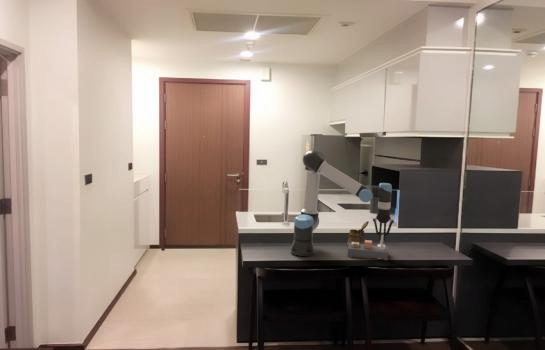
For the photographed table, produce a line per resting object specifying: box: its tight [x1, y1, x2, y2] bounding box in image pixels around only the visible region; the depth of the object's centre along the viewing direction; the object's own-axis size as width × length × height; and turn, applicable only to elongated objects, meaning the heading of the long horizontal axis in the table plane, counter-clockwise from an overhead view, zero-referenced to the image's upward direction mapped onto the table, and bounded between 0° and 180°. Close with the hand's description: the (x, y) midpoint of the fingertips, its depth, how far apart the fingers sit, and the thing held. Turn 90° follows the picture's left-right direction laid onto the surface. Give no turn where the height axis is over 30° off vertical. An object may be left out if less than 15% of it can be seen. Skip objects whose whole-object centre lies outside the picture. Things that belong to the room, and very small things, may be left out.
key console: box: [347, 243, 389, 259], centre depth 253 cm, size 24×12×5 cm, turn 77°
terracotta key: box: [364, 239, 373, 249], centre depth 253 cm, size 4×4×5 cm
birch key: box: [351, 242, 359, 248], centre depth 255 cm, size 4×4×5 cm
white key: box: [376, 243, 386, 250], centre depth 251 cm, size 4×4×5 cm
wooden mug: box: [346, 221, 370, 248], centre depth 268 cm, size 9×14×18 cm, turn 87°
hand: (381, 245), depth 251 cm, fingers closed
